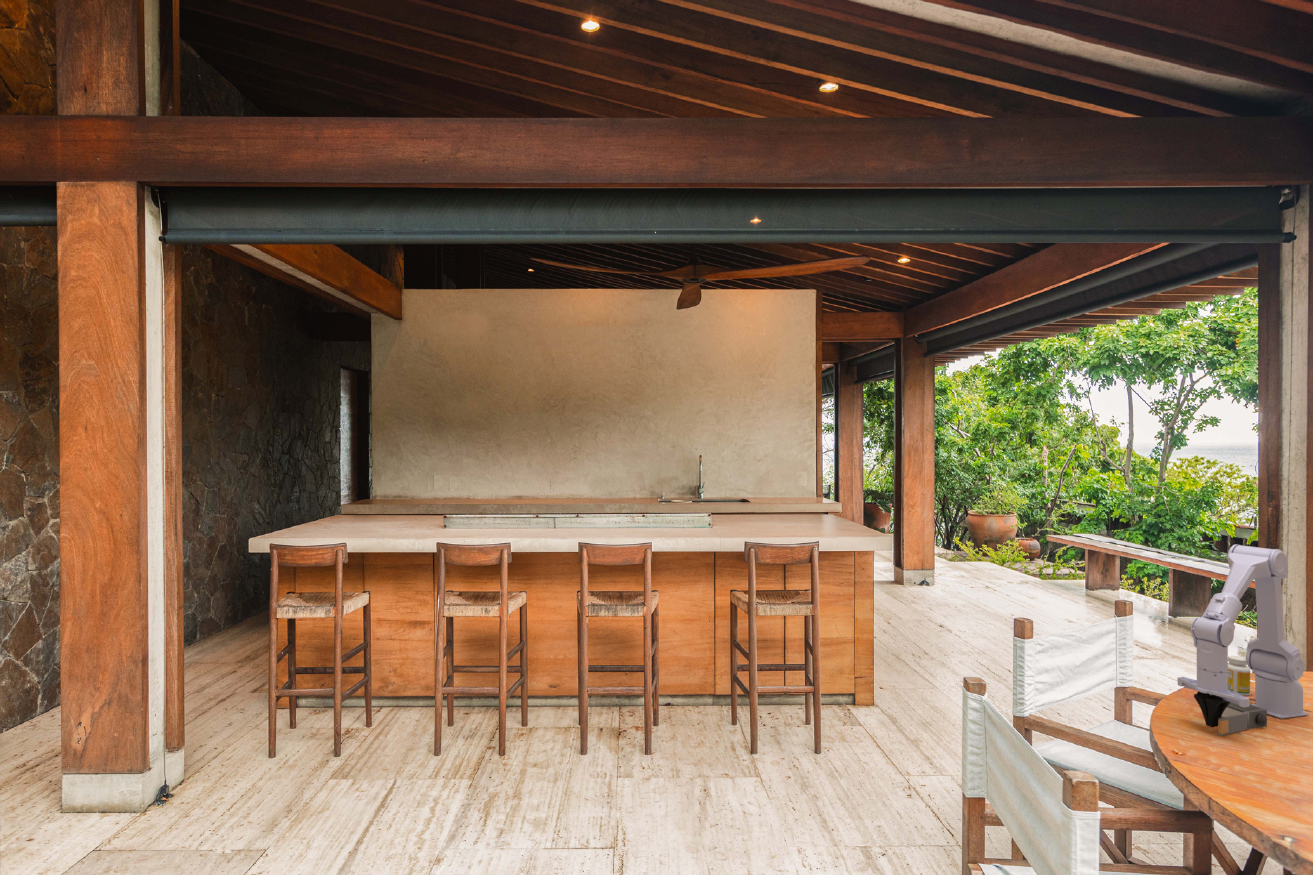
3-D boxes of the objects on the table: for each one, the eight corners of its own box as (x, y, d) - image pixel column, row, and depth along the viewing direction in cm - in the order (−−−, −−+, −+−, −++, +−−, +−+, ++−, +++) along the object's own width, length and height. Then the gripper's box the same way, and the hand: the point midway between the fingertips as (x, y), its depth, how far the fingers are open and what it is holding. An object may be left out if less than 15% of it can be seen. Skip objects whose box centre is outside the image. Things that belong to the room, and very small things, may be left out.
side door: (1217, 734, 155) (1217, 718, 155) (1245, 726, 160) (1245, 711, 160) (1222, 735, 155) (1222, 719, 155) (1249, 728, 159) (1250, 712, 159)
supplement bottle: (1222, 691, 183) (1222, 657, 183) (1226, 687, 186) (1226, 653, 186) (1248, 697, 179) (1248, 662, 179) (1252, 693, 182) (1252, 658, 182)
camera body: (1232, 713, 168) (1233, 697, 168) (1270, 727, 160) (1270, 710, 160) (1215, 716, 166) (1215, 700, 166) (1252, 730, 158) (1252, 713, 158)
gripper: (1168, 660, 164) (1168, 715, 164) (1234, 681, 150) (1234, 741, 150) (1189, 658, 166) (1189, 712, 166) (1256, 678, 152) (1256, 737, 152)
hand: (1212, 725), depth 158 cm, fingers closed
